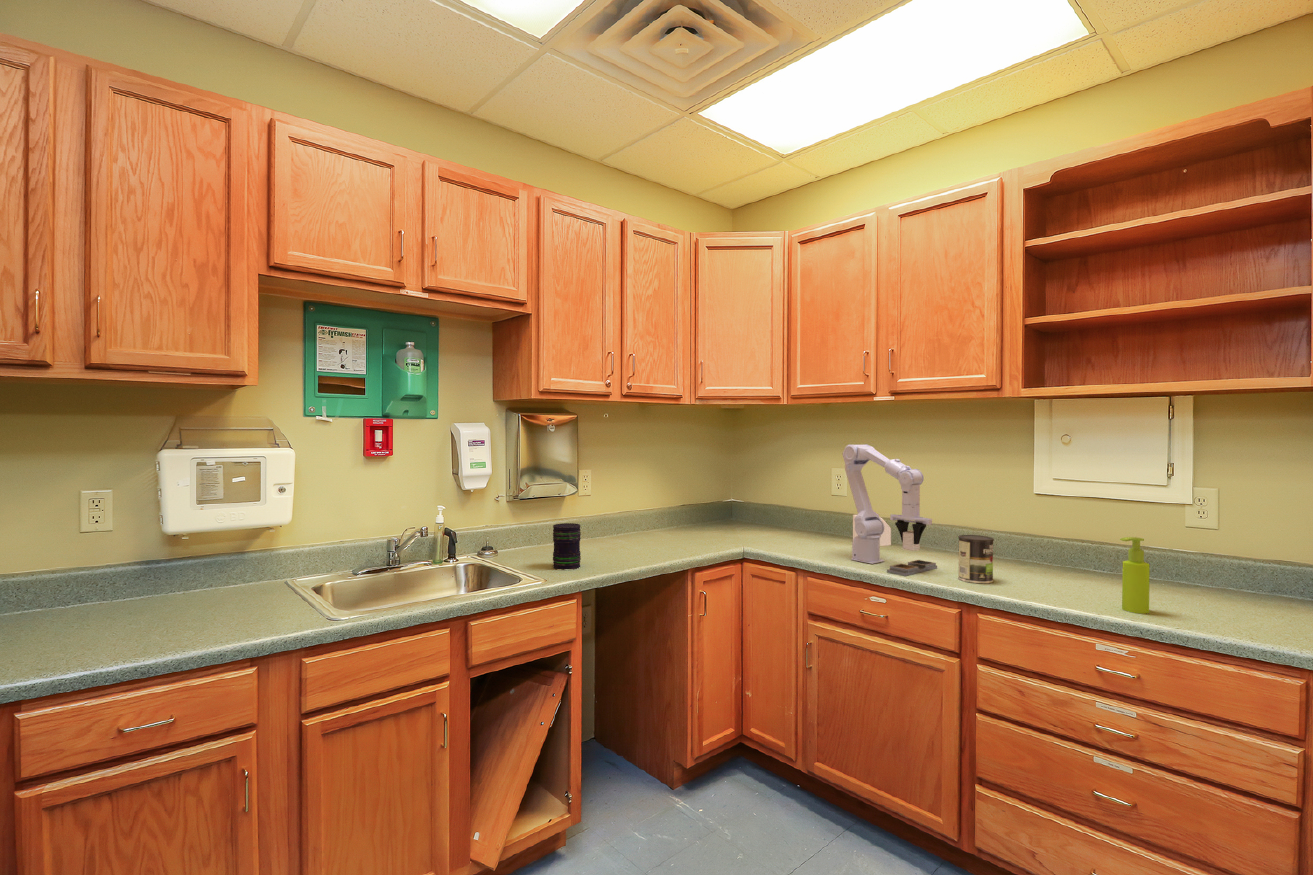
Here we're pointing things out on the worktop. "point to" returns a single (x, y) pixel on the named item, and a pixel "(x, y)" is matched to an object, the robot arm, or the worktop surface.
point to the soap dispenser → (1135, 579)
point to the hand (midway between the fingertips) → (910, 543)
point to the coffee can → (976, 559)
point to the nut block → (909, 541)
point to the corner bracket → (885, 537)
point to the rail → (912, 567)
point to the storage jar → (566, 546)
